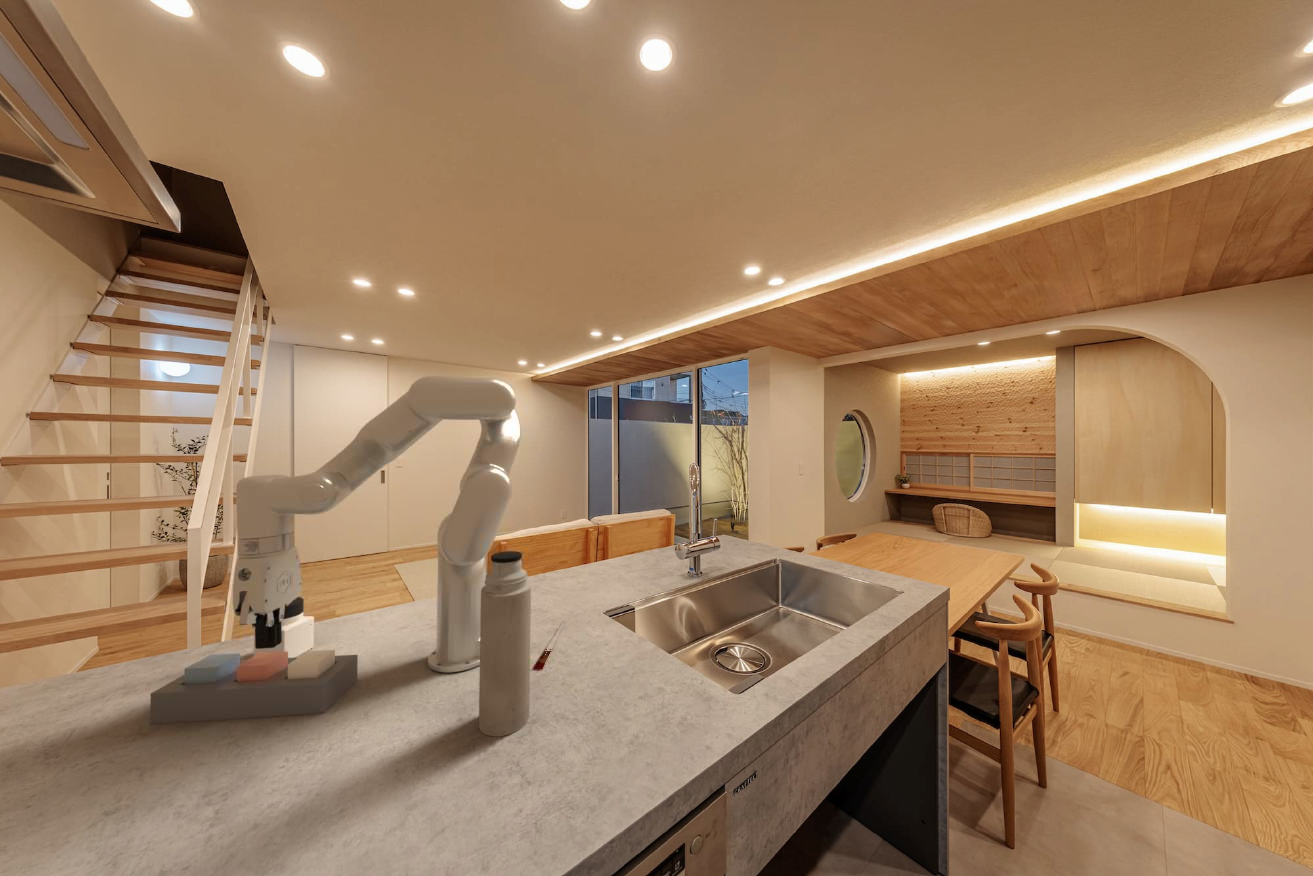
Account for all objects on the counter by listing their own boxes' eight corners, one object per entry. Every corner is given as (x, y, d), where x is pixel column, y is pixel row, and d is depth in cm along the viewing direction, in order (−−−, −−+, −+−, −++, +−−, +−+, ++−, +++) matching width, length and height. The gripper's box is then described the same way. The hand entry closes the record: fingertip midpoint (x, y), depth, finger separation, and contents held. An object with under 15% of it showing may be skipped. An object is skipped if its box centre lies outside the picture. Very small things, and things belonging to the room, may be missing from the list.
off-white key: (334, 668, 79) (334, 649, 79) (317, 683, 75) (317, 663, 75) (306, 670, 79) (306, 651, 79) (287, 684, 74) (287, 664, 74)
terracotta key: (287, 670, 78) (288, 651, 78) (267, 685, 74) (267, 665, 74) (259, 671, 78) (259, 652, 78) (236, 687, 73) (236, 666, 73)
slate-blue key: (239, 672, 77) (240, 653, 77) (215, 687, 73) (216, 667, 73) (210, 673, 77) (210, 654, 77) (184, 689, 72) (184, 668, 72)
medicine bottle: (314, 648, 95) (315, 594, 95) (283, 664, 88) (284, 606, 88) (285, 646, 96) (286, 592, 96) (252, 662, 88) (253, 605, 88)
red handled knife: (567, 622, 111) (567, 618, 111) (542, 672, 87) (542, 667, 87) (560, 621, 111) (560, 618, 111) (532, 672, 87) (532, 667, 87)
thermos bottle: (500, 701, 76) (503, 545, 76) (538, 711, 74) (540, 550, 74) (467, 729, 69) (470, 557, 69) (508, 741, 66) (511, 562, 66)
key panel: (357, 680, 82) (357, 654, 82) (323, 713, 72) (323, 684, 72) (207, 688, 79) (207, 661, 79) (150, 724, 69) (150, 693, 69)
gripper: (255, 555, 69) (258, 667, 69) (317, 533, 84) (319, 626, 84) (204, 557, 68) (206, 670, 68) (275, 535, 83) (277, 628, 83)
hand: (268, 645), depth 76 cm, fingers closed
